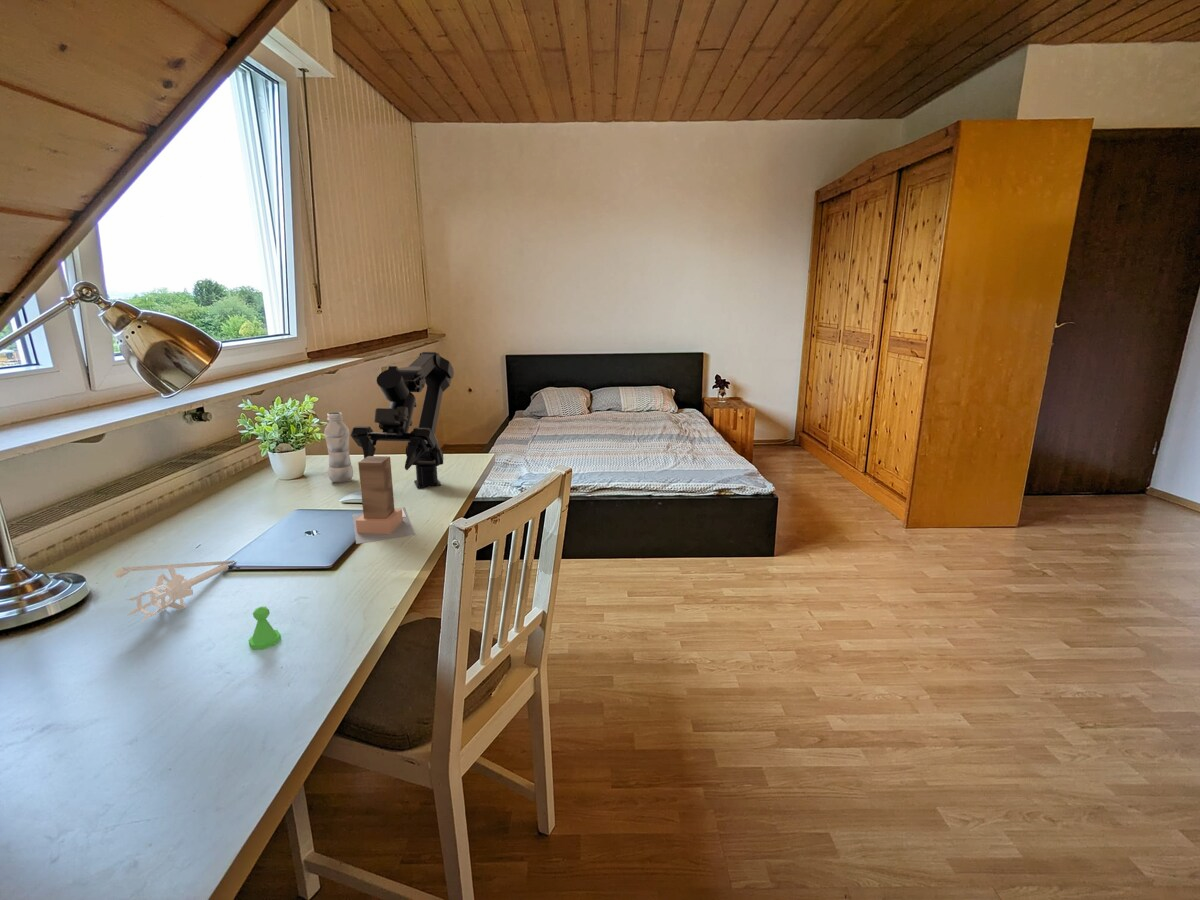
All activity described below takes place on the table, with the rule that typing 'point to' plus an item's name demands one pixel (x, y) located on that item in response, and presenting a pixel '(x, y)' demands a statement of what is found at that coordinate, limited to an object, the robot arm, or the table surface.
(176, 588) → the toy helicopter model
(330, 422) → the plastic bottle
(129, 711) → the table surface
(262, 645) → the game piece
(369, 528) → the plinth
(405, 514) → the base board
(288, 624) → the table surface
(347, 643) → the table surface
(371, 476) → the pillar
